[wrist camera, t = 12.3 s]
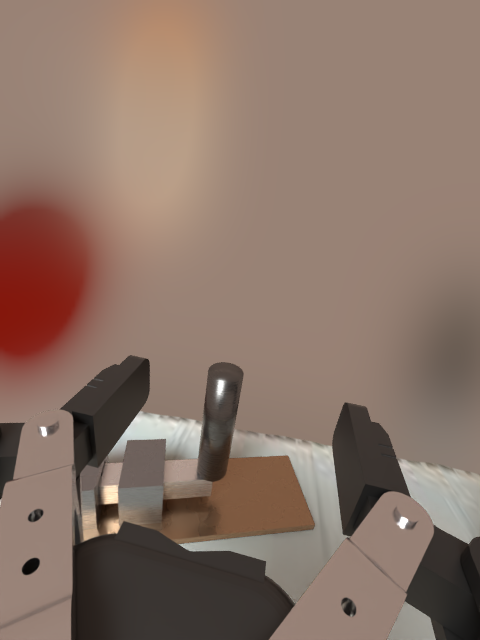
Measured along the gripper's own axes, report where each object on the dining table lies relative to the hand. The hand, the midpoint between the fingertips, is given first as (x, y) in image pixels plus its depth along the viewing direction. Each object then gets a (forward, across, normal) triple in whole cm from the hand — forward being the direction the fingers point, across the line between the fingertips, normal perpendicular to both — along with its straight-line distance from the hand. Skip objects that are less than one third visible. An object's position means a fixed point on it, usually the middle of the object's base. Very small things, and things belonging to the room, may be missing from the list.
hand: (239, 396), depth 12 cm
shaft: (+10, +9, +23) cm, 26 cm away
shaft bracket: (+11, +5, +25) cm, 28 cm away
